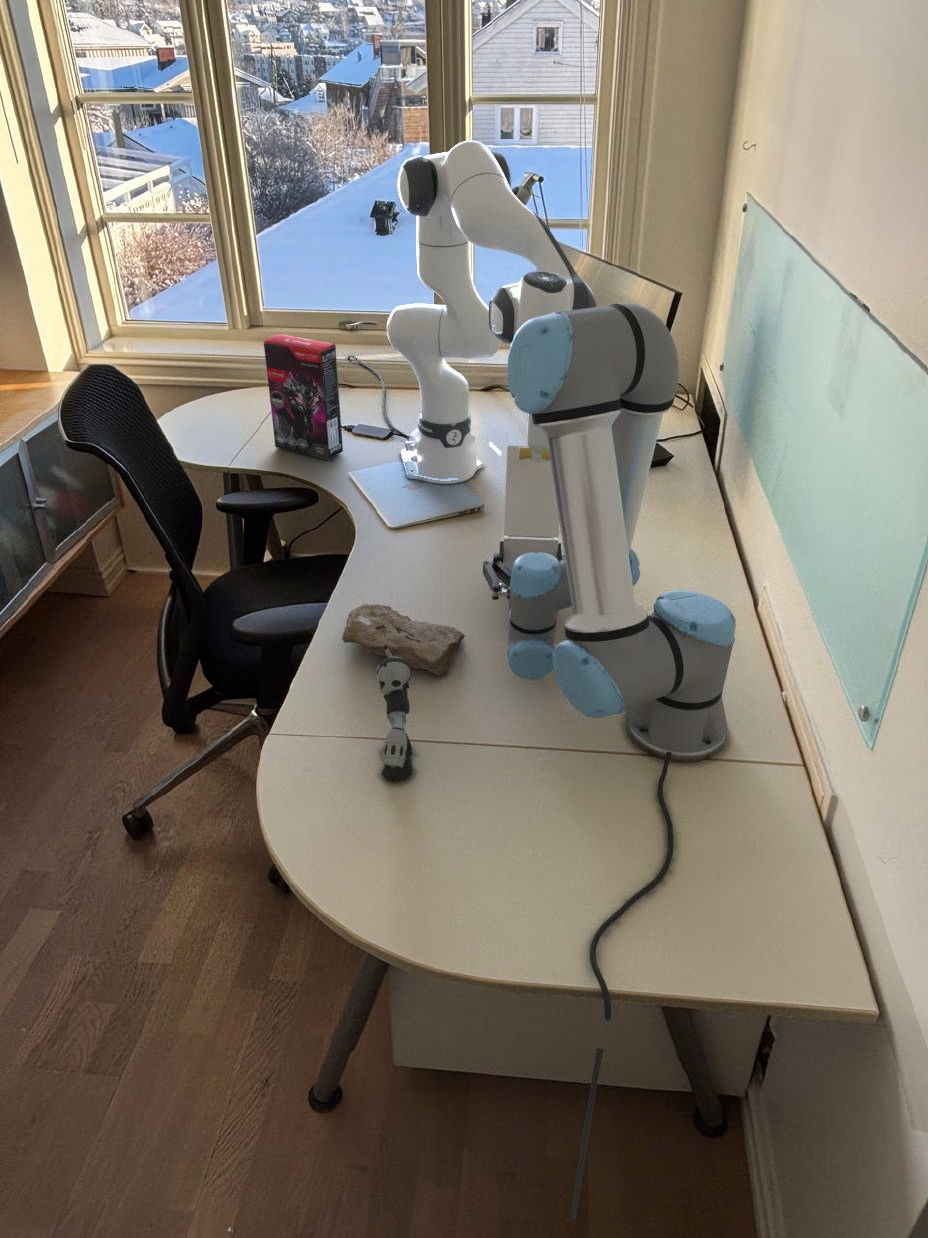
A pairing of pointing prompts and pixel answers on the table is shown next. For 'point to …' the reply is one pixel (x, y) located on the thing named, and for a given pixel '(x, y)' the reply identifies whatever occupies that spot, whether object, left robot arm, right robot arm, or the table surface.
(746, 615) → the table surface
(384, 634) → the stone
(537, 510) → the white lid with handle
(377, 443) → the table surface
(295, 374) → the graphics card box
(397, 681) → the robot
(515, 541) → the chest
